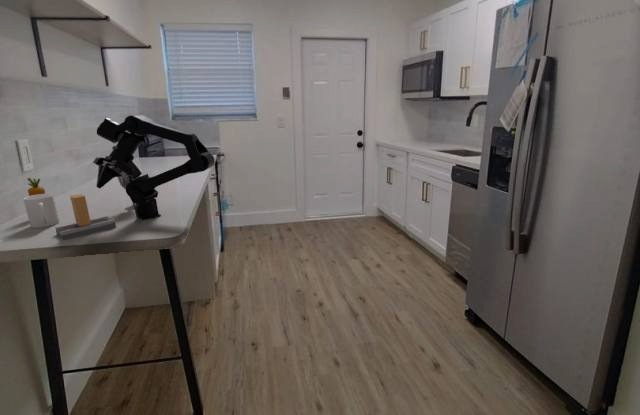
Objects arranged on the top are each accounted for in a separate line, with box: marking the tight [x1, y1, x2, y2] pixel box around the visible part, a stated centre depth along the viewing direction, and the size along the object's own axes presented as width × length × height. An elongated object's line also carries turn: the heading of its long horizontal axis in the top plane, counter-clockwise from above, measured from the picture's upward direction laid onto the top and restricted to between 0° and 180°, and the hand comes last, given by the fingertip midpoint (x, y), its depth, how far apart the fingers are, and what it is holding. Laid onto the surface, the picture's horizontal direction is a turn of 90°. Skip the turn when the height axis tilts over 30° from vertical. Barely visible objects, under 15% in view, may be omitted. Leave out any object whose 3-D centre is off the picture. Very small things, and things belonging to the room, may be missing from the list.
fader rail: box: [55, 215, 117, 241], centre depth 121 cm, size 15×8×3 cm, turn 137°
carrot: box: [27, 177, 46, 196], centre depth 138 cm, size 5×5×15 cm
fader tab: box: [69, 193, 92, 228], centre depth 119 cm, size 4×5×10 cm
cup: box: [22, 193, 60, 229], centre depth 127 cm, size 8×12×10 cm
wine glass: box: [116, 171, 141, 211], centre depth 145 cm, size 8×8×15 cm
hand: (98, 187), depth 121 cm, fingers closed
